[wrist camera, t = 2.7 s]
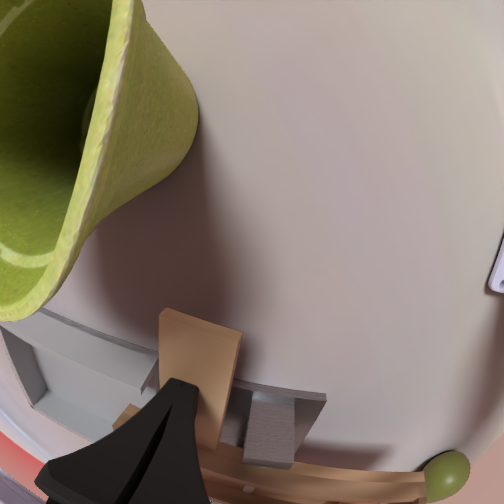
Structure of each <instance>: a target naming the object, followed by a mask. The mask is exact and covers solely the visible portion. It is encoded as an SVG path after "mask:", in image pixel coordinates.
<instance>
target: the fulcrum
mask: <svg viewBox="0 0 504 504" xmlns="http://www.w3.org/2000/svg"><path fill="white" fill-rule="evenodd" d="M326 402H327V400H326V394H322V393H313V392H305V391H298V390H291V389H284V388H278V387H272V386H266V385H260V384H255V383H250V382H244V381H240V380H235V379H233V382H232V386H231V391H230V395H229V400H228V405H227V409H226V414H225V418H224V423H223V428H222V432H221V437H220V441H221V442H224V443H227V444H230V445H233V446H237V447H240V448H243V453H242V459H241V464H247V465H254V466H261V467H268V468H277V469H287V470H289V469H290V468H291V467H292V465H293V464H294V454H295V452H296V451H297V449H298V448H299V446H300V445H301V443H302V442H303V440H304V439H305V437H306V435H307V434H308V432H309V431H310V429H311V427H312V426H313V424H314V422H315V421H316V419H317V417H318V416H319V414H320V412H321V410H322V409H323V407H324V405H325V403H326Z"/></svg>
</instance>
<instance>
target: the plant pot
mask: <svg viewBox="0 0 504 504" xmlns="http://www.w3.org/2000/svg"><path fill="white" fill-rule="evenodd" d="M92 112H93V113H92ZM91 116H92V118H91ZM197 124H198V104H197V100H196V96H195V92H194V89H193V86H192V84H191V82H190V80H189V78H188V77H187V75H186V74H185V73H184V71H183V70H182V68H181V67H180V66H179V64H178V63H177V61H176V60H175V59H174V57H173V56H172V55H171V53H170V52H169V50H168V49H167V48H166V46H165V45H164V43H163V42H162V41H161V39H160V38H159V36H158V35H157V34H156V32H155V31H154V30H153V28H152V27H151V26H150V24H149V23H148V22H147V20H146V15H145V10H144V6H143V3H142V1H141V0H0V321H1V322H17V321H20V320H23V319H25V318H27V317H29V316H31V315H33V314H35V313H36V312H38V311H39V310H40V309H41V308H42V307H43V306H44V305H45V304H46V303H47V302H49V301H50V300H51V298H52V297H53V296H54V295H55V294H56V293H57V292H58V290H59V289H60V287H61V286H62V284H63V283H64V281H65V279H66V278H67V276H68V275H69V273H70V271H71V269H72V267H73V265H74V263H75V261H76V260H77V258H78V256H79V253H80V251H81V248H82V246H83V243H84V241H85V240H86V239H87V238H88V236H89V235H90V234H91V233H92V231H93V230H94V228H95V227H96V225H97V224H98V223H99V222H100V221H101V220H103V219H104V218H105V217H107V216H108V215H109V214H111V213H112V212H113V211H115V210H116V209H117V208H119V207H120V206H122V205H124V204H125V203H127V202H128V201H130V200H131V199H133V198H134V197H136V196H137V195H139V194H141V193H142V192H144V191H146V190H147V189H149V188H151V187H152V186H154V185H155V184H157V183H158V182H160V181H161V180H163V179H164V178H166V177H167V176H168V175H170V174H171V173H172V172H173V171H174V170H175V169H176V168H177V167H178V166H179V164H180V163H181V162H182V160H183V159H184V157H185V156H186V154H187V153H188V151H189V149H190V147H191V145H192V143H193V140H194V137H195V134H196V130H197Z"/></svg>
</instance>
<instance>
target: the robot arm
mask: <svg viewBox="0 0 504 504" xmlns="http://www.w3.org/2000/svg"><path fill="white" fill-rule="evenodd" d="M488 286H489V288H490V289H492V290H493V291H496V292H500V293H504V239H503V242H502V245H501V248H500V251H499V254H498V257H497V260H496V263H495V266H494V268H493V271H492V273H491V276H490V279H489V282H488ZM198 391H199V388H198V387H197V386H196V385H193V384H191V383H188V382H185V381H182V380H179V379H175V378H169V379H168V381H167V382H166V383H165V384H164V386H163V387H162V388H161V389H160V390H159V391H158V392H157V394H156V395H155V396H154V397H153V398H152V399H151V400H150V401H149V402H148V403H147V404H146V405H145V406H144V407H143V408H142V409H140V410H139V411H138V412H137V413H136V414H135V415H134V416H132V417H131V418H130V419H129V420H128V421H126V422H125V423H124V424H122V425H121V426H120V427H118V428H117V429H116V430H114V431H113V432H111V433H110V434H108V435H106V436H105V437H103V438H101V439H100V440H98V441H96V442H94V443H93V444H91V445H89V446H86V447H84V448H82V449H80V450H78V451H75V452H73V453H70V454H68V455H65V456H62V457H59V458H56V459H52V460H49V461H48V462H47V463H46V464H45V465H44V466H43V468H42V469H41V471H40V472H39V474H38V476H37V477H36V479H35V481H34V482H35V485H36V486H37V487H39V489H41V490H42V491H43V492H44V493H45V494H46V495H48V496H49V498H48V500H47V502H46V501H44V500H43V499H41V498H40V497H38V496H37V495H35V494H34V493H33V492H31V491H30V490H28V489H27V488H26V487H24V486H23V485H21V484H20V483H19V482H18V481H16V480H15V479H14V478H12V477H11V476H10V475H9V474H8V473H6V472H5V471H4V470H3V469H2V468H0V504H211V503H210V500H209V498H208V495H207V491H206V488H205V485H204V481H203V478H202V474H201V469H200V465H199V459H198V454H197V447H196V437H195V418H196V414H197V403H198Z"/></svg>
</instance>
